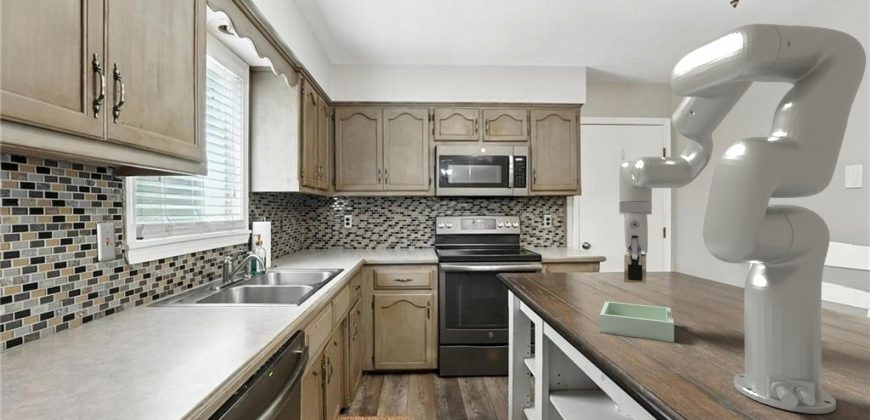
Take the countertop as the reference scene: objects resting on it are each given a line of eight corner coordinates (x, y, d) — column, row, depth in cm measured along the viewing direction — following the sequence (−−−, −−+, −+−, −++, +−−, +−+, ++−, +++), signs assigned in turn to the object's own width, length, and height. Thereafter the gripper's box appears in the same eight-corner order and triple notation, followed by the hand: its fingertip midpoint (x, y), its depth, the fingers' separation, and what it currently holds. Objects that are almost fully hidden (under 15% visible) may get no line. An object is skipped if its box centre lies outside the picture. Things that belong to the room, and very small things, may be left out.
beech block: (646, 283, 98) (646, 256, 98) (624, 282, 101) (624, 255, 101) (646, 280, 103) (646, 254, 103) (625, 278, 105) (625, 253, 105)
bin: (674, 342, 91) (674, 323, 91) (599, 332, 98) (599, 314, 98) (670, 324, 105) (670, 307, 105) (605, 316, 112) (605, 301, 112)
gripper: (652, 209, 92) (652, 285, 92) (651, 208, 107) (651, 274, 107) (617, 209, 96) (617, 282, 96) (621, 208, 111) (621, 272, 111)
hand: (635, 277), depth 102 cm, fingers closed on beech block, 5 cm apart
